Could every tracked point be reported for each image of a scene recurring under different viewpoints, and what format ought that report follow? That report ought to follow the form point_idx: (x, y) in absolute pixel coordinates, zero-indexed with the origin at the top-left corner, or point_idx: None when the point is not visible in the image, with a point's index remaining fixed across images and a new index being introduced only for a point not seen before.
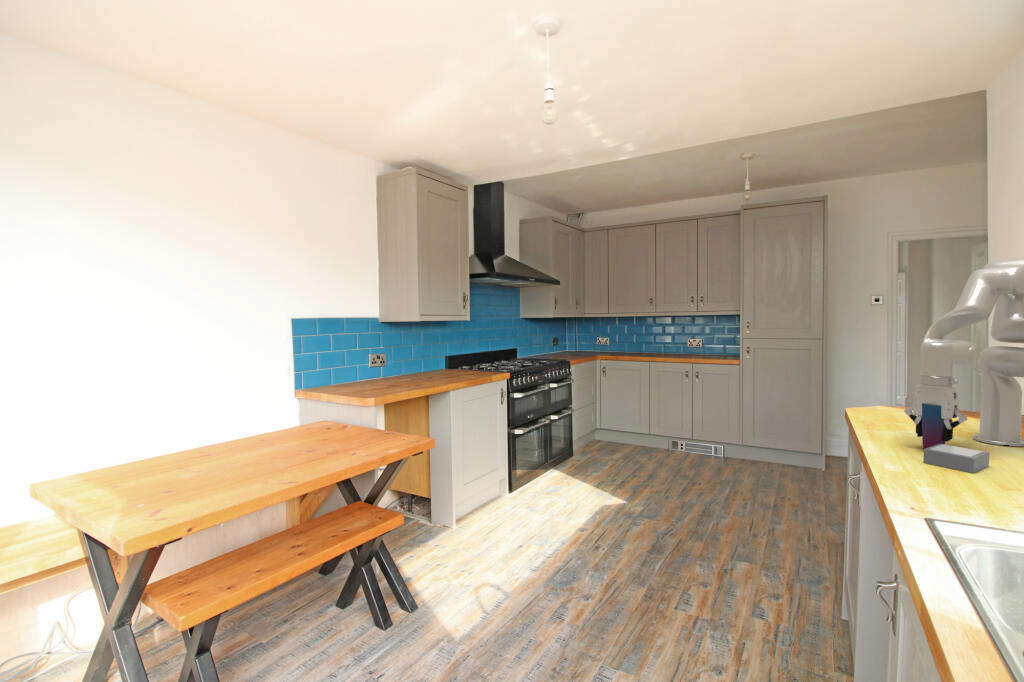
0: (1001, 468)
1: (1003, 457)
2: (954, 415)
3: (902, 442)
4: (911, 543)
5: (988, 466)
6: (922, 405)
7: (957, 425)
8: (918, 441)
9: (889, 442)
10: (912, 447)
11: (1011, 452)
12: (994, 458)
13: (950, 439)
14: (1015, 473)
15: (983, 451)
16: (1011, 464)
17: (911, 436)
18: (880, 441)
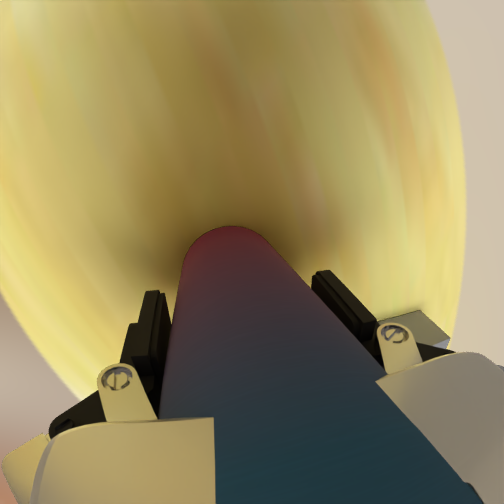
0: (440, 297)
1: (437, 119)
2: (474, 363)
3: (49, 222)
4: None
5: (419, 312)
6: None
7: (429, 352)
8: (72, 106)
9: (34, 283)
10: (136, 287)
11: (420, 4)
12: (426, 168)
13: (329, 274)
14: (456, 312)
15: (438, 345)
16: (460, 217)
17: (16, 36)
18: (15, 300)
